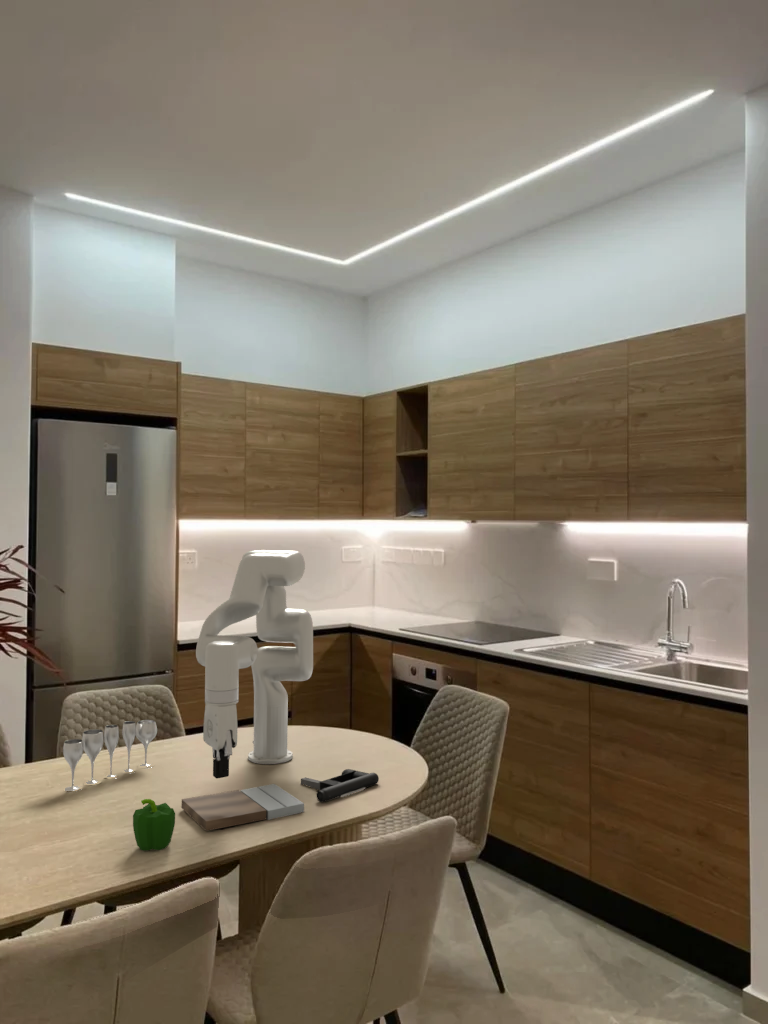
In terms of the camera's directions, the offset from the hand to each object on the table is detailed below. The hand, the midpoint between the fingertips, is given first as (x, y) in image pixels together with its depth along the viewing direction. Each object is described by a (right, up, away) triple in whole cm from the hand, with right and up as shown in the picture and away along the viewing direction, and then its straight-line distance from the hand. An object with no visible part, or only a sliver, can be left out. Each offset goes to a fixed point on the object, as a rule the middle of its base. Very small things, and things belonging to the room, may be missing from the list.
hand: (220, 776), depth 177 cm
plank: (0, -9, 0) cm, 9 cm away
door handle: (+25, -10, +20) cm, 33 cm away
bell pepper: (-10, -9, -18) cm, 22 cm away
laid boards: (+11, -9, +7) cm, 15 cm away
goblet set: (-34, -9, +26) cm, 44 cm away
